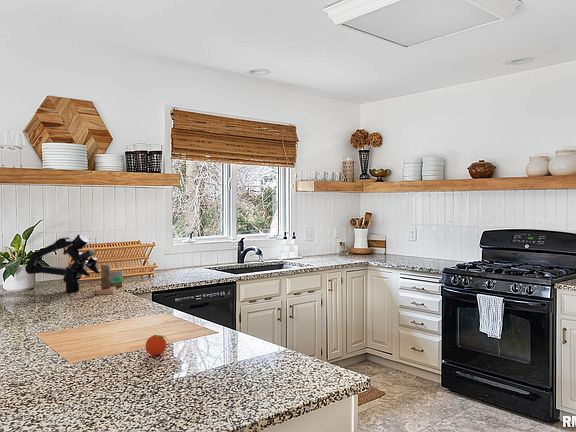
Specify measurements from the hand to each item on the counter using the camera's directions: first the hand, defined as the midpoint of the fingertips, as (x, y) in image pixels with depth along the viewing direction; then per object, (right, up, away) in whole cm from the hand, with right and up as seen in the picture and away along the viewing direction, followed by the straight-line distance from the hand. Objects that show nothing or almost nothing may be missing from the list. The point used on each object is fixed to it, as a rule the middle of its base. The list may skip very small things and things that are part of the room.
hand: (93, 274), depth 284 cm
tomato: (+65, -15, -112) cm, 130 cm away
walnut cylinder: (+7, -8, -1) cm, 11 cm away
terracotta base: (+7, -10, -1) cm, 13 cm away
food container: (+8, -10, +14) cm, 19 cm away
